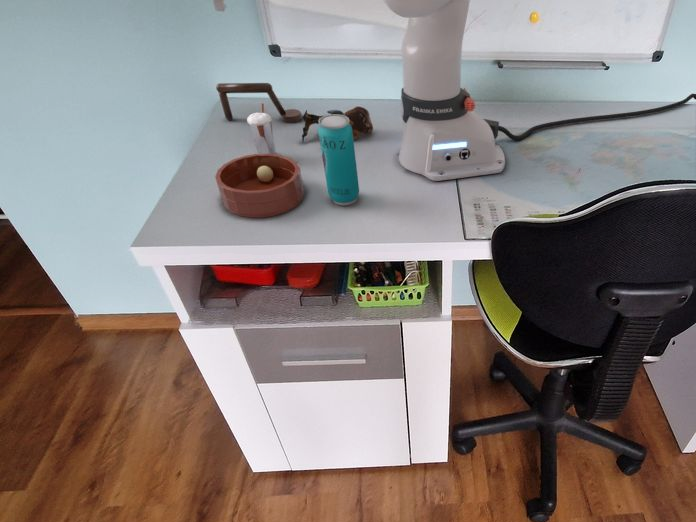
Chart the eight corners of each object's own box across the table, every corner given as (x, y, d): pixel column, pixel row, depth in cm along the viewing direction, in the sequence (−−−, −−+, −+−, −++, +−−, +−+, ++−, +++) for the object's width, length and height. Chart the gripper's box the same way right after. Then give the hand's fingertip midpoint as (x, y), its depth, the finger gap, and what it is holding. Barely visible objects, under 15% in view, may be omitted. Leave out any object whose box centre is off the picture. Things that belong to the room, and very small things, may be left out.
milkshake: (284, 152, 114) (273, 104, 107) (275, 164, 110) (264, 115, 103) (263, 150, 114) (251, 102, 107) (253, 162, 110) (240, 113, 103)
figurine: (374, 141, 119) (371, 113, 115) (302, 143, 117) (297, 115, 113) (373, 126, 124) (370, 99, 120) (304, 128, 122) (299, 101, 118)
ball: (275, 177, 105) (272, 162, 103) (273, 184, 103) (270, 170, 101) (259, 177, 105) (256, 163, 103) (257, 185, 103) (254, 170, 101)
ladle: (302, 114, 127) (296, 79, 122) (301, 122, 124) (294, 86, 119) (227, 116, 125) (216, 79, 120) (223, 124, 122) (213, 87, 117)
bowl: (306, 176, 107) (302, 152, 104) (301, 216, 97) (295, 191, 94) (230, 178, 106) (223, 154, 102) (216, 219, 96) (208, 194, 92)
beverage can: (330, 191, 104) (318, 113, 93) (361, 191, 104) (352, 113, 93) (328, 207, 100) (314, 127, 89) (359, 207, 100) (349, 127, 89)
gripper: (213, -70, 92) (231, 20, 102) (239, -92, 106) (252, -10, 116) (174, -74, 91) (196, 17, 102) (205, -96, 105) (222, -13, 115)
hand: (226, 2), depth 109 cm, fingers open, 8 cm apart
